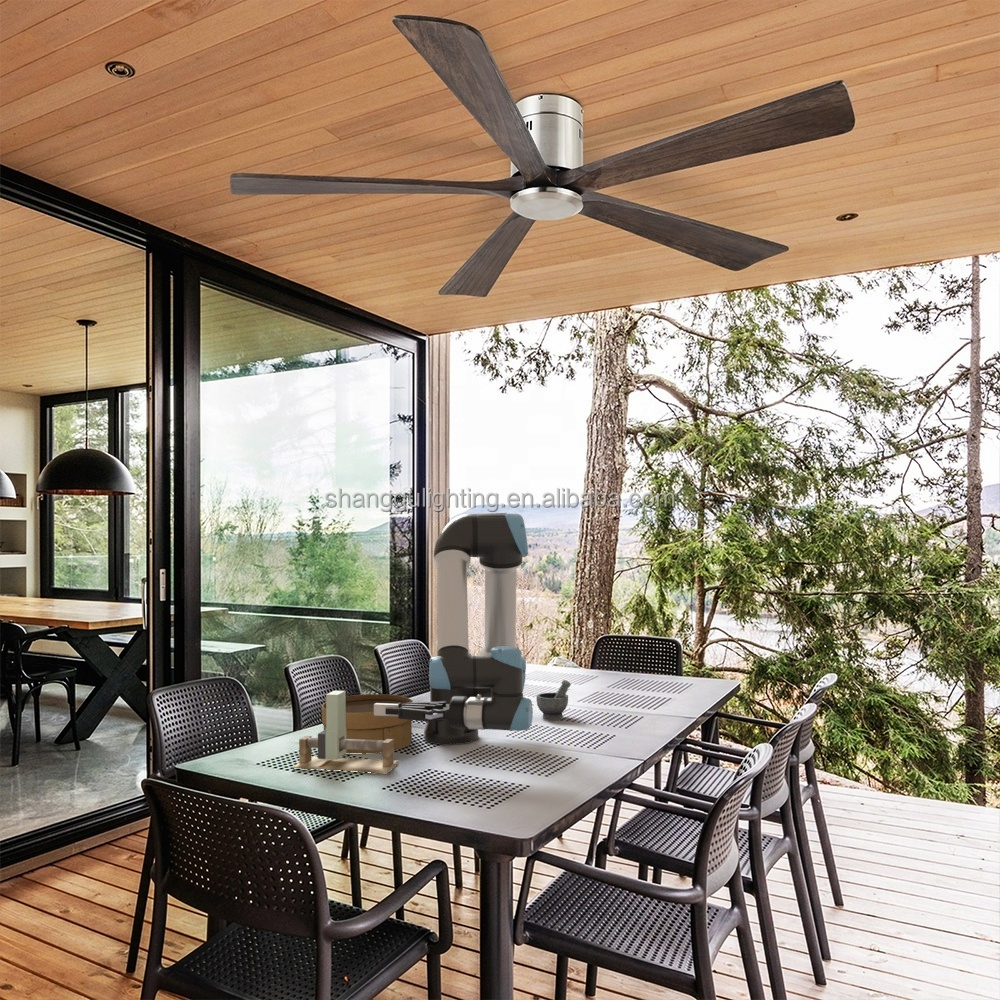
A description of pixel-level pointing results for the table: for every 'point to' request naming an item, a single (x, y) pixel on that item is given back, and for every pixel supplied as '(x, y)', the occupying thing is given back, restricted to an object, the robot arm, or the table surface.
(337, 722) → the pale green upright panel
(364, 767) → the pipe stand
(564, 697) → the mortar and pestle
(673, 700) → the table surface
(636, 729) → the table surface
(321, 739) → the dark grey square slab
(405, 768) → the table surface
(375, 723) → the steamer basket
